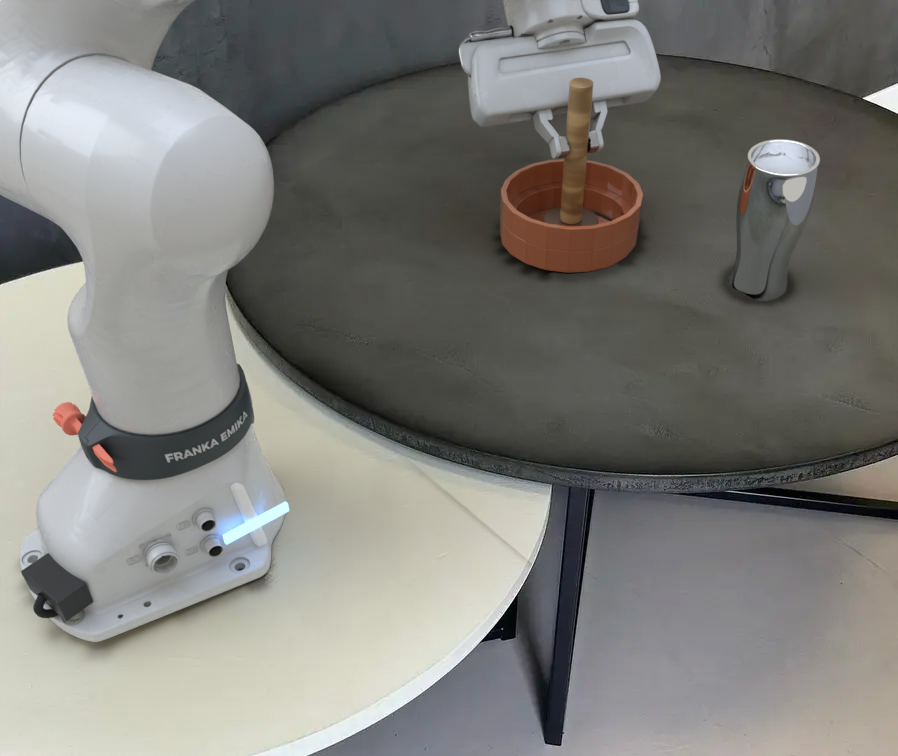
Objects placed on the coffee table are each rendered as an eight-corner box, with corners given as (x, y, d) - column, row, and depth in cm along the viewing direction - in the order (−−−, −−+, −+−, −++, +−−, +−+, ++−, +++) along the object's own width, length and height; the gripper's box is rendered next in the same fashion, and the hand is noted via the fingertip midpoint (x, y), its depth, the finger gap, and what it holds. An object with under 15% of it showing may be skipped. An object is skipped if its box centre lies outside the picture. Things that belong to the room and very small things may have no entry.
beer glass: (791, 311, 101) (824, 178, 90) (721, 306, 102) (745, 174, 91) (789, 271, 105) (820, 139, 94) (722, 267, 106) (745, 136, 95)
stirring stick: (569, 251, 107) (581, 101, 95) (531, 229, 110) (538, 81, 98) (608, 232, 110) (624, 83, 98) (570, 211, 113) (581, 64, 101)
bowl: (566, 295, 104) (570, 245, 99) (472, 238, 112) (472, 189, 108) (664, 244, 110) (672, 194, 106) (568, 193, 118) (572, 145, 114)
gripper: (461, 19, 97) (491, 158, 98) (651, -7, 101) (679, 127, 102) (448, 48, 103) (477, 179, 104) (628, 23, 107) (655, 149, 108)
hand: (578, 153), depth 103 cm, fingers closed on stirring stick, 2 cm apart
